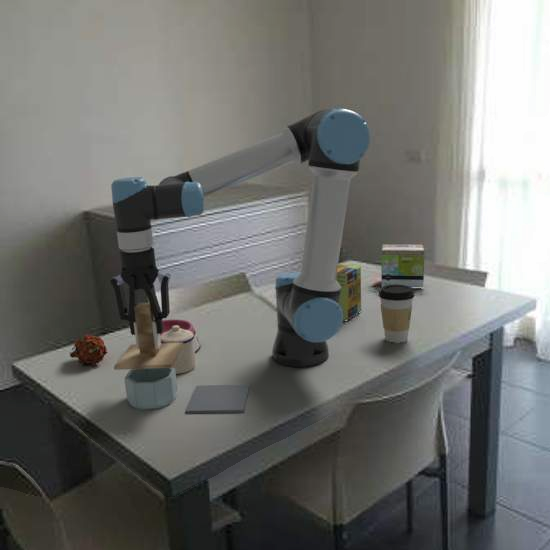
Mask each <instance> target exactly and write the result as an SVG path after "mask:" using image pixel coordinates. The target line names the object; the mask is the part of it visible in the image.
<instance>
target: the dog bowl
mask: <svg viewBox="0 0 550 550" xmlns="http://www.w3.org/2000/svg"><path fill="white" fill-rule="evenodd" d="M162 321H163V332H162V334H163V333H165V332H168V331H169V330H171V329H172V327H173V326H175V325H178V326H179V327H180V328H181V329H184V330H189V331H191V332H192V333H193V334H194V350H195V354H198V352H199V351H200V349H201V347H202V346H201V343H200V341H199V338H198V335H197V333H196V332H197V331H196V329H195V327H194V325H193V323H191V322H190V321H187V320H185V319H184V320H183V319H175V318H174V319H172V318H171V319H162ZM162 334H160V336H161V335H162Z"/></svg>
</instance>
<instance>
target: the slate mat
mask: <svg viewBox="0 0 550 550" xmlns="http://www.w3.org/2000/svg"><path fill="white" fill-rule="evenodd" d="M250 387H251V386H250V384H214V385H213V384H212V385H211V384H208V385H205V384H204V385H203V384H202V385H196V387H195V388H194V391H193V393H192V395H191V398H190V400H189V403H188V404H187V408H186V409H185V413H186V414H211V413H212V414H217V413H221V414H224V413H226V414H227V413H231V414H232V413H245V410H246V409H245V408H246V405H247V400H248V396H249V391H250Z"/></svg>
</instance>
